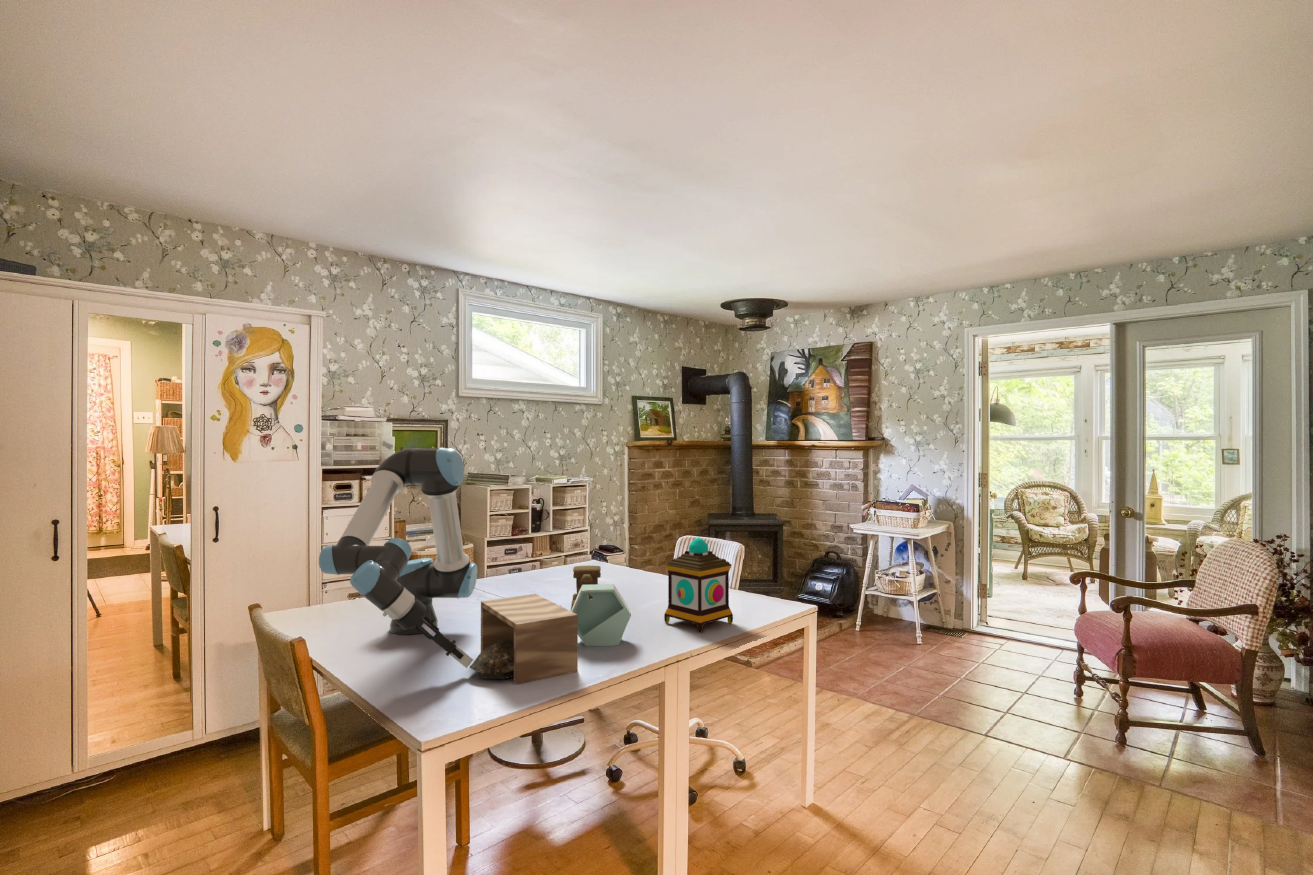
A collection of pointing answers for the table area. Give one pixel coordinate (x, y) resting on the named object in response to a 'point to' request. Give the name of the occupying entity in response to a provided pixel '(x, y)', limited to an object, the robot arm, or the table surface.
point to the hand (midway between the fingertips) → (469, 663)
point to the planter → (601, 615)
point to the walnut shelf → (532, 635)
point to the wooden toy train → (585, 578)
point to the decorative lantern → (698, 586)
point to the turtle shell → (496, 661)
